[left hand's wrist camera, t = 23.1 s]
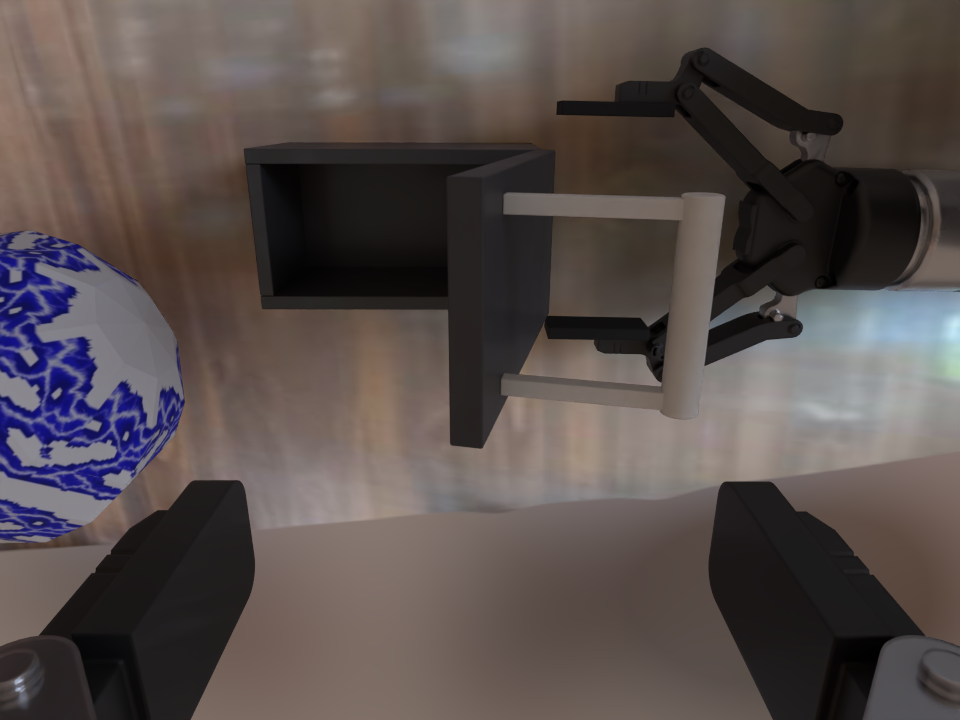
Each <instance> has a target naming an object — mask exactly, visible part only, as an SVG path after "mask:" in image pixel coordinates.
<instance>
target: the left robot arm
mask: <svg viewBox="0 0 960 720" xmlns="http://www.w3.org/2000/svg"><path fill="white" fill-rule="evenodd" d="M254 573H255V558H254V550H253V543H252V536H251V528H250V521H249V514H248V507H247V500H246V493H245V489H244V486H243V484H242V483H241V482H240V481H238V480H195V481H192V482H190V484H189V485H188V486H187V487H186V488H185V490H184V491H183V492H182V493H181V495H180V496H179V497H178V498H177V500H176V501H175V502H174V503H173V505H172V506H171V507H170V509H169V510H157V511H156V512H154V513H153V514H151V515H150V516H148V517H147V518H145V519H144V520H142V521H141V522H139V523H137V524H136V525H134V526H133V527H131V528H130V529H129V530H128V531H127V532H126V533H125V535H124V536H123V537H122V538H121V539H120V540H119V542H118V543H117V544H116V545H115V546H114V548H113V549H112V550H111V555H107V556H106V557H105V558H104V559H103V560H102V562H101V563H100V564H99V565H98V566H97V568H96V572H95V573H91V575H90V576H89V577H88V578H87V579H86V581H85V582H84V583H83V584H82V585H81V586H80V588H79V589H78V590H77V591H76V592H75V593H74V595H73V596H72V597H71V598H70V599H69V601H68V602H67V603H66V604H65V605H64V607H63V608H62V609H61V610H60V611H59V612H58V613H57V615H56V616H55V617H54V618H53V619H52V621H51V622H50V623H49V624H48V625H47V626H46V628H45V629H44V630H43V631H42V632H41V633H40V635H39V636H34V637H28V638H24V639H20V640H17V641H13V642H10V643H8V644H5V645H3V646H0V720H191V718H192V716H193V713H194V711H195V709H196V707H197V705H198V703H199V701H200V699H201V697H202V695H203V693H204V691H205V688H206V686H207V684H208V682H209V680H210V678H211V676H212V674H213V672H214V670H215V668H216V665H217V663H218V661H219V659H220V657H221V655H222V653H223V651H224V649H225V647H226V645H227V643H228V640H229V638H230V636H231V634H232V632H233V630H234V628H235V626H236V624H237V622H238V620H239V617H240V615H241V613H242V611H243V609H244V607H245V605H246V603H247V601H248V599H249V596H250V593H251V590H252V586H253V581H254ZM709 580H710V585H711V590H712V593H713V596H714V599H715V601H716V603H717V605H718V607H719V609H720V611H721V613H722V616H723V618H724V620H725V622H726V624H727V626H728V628H729V630H730V632H731V634H732V636H733V638H734V640H735V642H736V644H737V646H738V649H739V651H740V653H741V655H742V657H743V659H744V661H745V663H746V665H747V667H748V669H749V671H750V673H751V675H752V677H753V679H754V681H755V684H756V686H757V688H758V690H759V692H760V694H761V696H762V698H763V700H764V702H765V704H766V706H767V708H768V710H769V712H770V714H771V716H772V719H773V720H960V646H957V645H955V644H953V643H949V642H946V641H943V640H940V639H936V638H932V637H926V636H925V635H924V633H923V632H922V631H921V630H920V629H919V628H918V626H917V625H916V624H915V623H914V622H913V621H912V620H911V618H910V617H909V616H908V615H907V614H906V612H905V611H904V610H903V609H902V608H901V607H900V606H899V604H898V603H897V602H896V601H895V600H894V598H893V597H892V596H891V595H890V594H889V593H888V591H887V590H886V589H885V588H884V587H883V586H882V585H881V583H880V582H879V581H878V580H877V579H876V577H875V576H874V575H870V574H869V569H868V568H867V567H866V566H865V565H864V563H863V562H862V561H861V560H860V559H859V558H858V557H857V556H854V553H853V551H852V549H851V548H850V547H849V546H848V545H847V544H846V543H845V541H844V540H843V539H842V538H841V537H840V535H839V534H838V533H837V532H836V531H835V530H834V529H832V528H831V527H829V526H828V525H826V524H825V523H823V522H822V521H820V520H819V519H817V518H815V517H814V516H812V515H811V514H809V513H808V512H796V511H795V510H794V508H793V507H792V506H791V504H790V503H789V502H788V501H787V499H786V498H785V497H784V496H783V495H782V493H781V492H780V491H779V490H778V488H777V487H776V486H775V485H774V484H773V483H772V482H724V483H722V485H721V487H720V489H719V492H718V498H717V505H716V512H715V519H714V526H713V534H712V540H711V548H710V555H709Z"/></svg>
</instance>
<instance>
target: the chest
mask: <svg viewBox="0 0 960 720" xmlns="http://www.w3.org/2000/svg"><path fill="white" fill-rule="evenodd" d="M533 150H543V149H541V148H539V147H537V146H535V145H533V144H531V143H281V144H274V145H267V146H260V147H253V148H245V149H244V156H245V163H246V172H247V181H248V189H249V198H250V207H251V216H252V225H253V233H254V242H255V251H256V260H257V269H258V277H259V286H260V295H261V304H262V309H448V251H447V181H446V179H447V177H448V176H451V175H454V174H458V173H461V172H464V171H468V170H471V169H474V168H477V167H481V166H484V165H487V164H490V163H494V162H497V161H500V160H504V159H507V158H510V157H513V156H517V155H520V154H523V153H526V152H530V151H533Z"/></svg>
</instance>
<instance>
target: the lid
mask: <svg viewBox="0 0 960 720" xmlns="http://www.w3.org/2000/svg"><path fill="white" fill-rule="evenodd" d="M554 170H555V151H554V150H533V151H530V152H526V153H523V154H520V155H517V156H513V157H510V158H507V159H504V160H500V161H497V162H494V163H490V164H487V165H484V166H481V167H477V168H474V169H471V170H468V171H464V172H461V173H458V174H454V175H451V176H448V177H447V179H446V181H447V251H448V322H449V392H450V444H451V445H453V446H462V447H471V448H480V449H481V448H483V446H484V444H485V442H486V440H487V438H488V436H489V434H490V432H491V430H492V428H493V426H494V424H495V422H496V420H497V418H498V416H499V414H500V411H501V409H502V407H503V405H504V403H505V401H506V399H507V397H508V396H516V397H526V398H537V399H548V400H558V401H569V402H580V403H591V404H601V405H612V406H623V407H634V408H644V409H655V410H660V412H661V413H662V414H663V415H665V416H667V417H670V418H674V419H692V418H695V417H696V416H697V415H698V411H699V404H700V396H701V388H702V380H703V372H704V364H705V356H706V348H707V340H708V332H709V324H710V316H711V309H712V301H713V293H714V285H715V277H716V269H717V261H718V253H719V245H720V237H721V229H722V221H723V214H724V206H725V195H723V194H718V193H707V192H689V193H684V194H682V195H681V197H654V196H617V195H581V194H554ZM553 216H565V217H594V218H623V219H652V220H679V221H678V231H677V241H676V250H675V260H674V270H673V279H672V289H671V298H670V308H669V318H668V327H667V337H666V347H665V356H664V366H663V375H662V385H661V387H658V386H646V385H635V384H623V383H611V382H600V381H588V380H577V379H565V378H553V377H542V376H530V375H519V373H520V371H521V369H522V367H523V365H524V362H525V360H526V358H527V356H528V354H529V352H530V350H531V348H532V346H533V344H534V342H535V340H536V338H537V336H538V334H539V332H540V330H541V328H542V326H543V324H544V322H545V320H546V318H547V315H548V313H549V296H550V271H551V246H552V220H553Z"/></svg>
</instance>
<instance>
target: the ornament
mask: <svg viewBox="0 0 960 720" xmlns="http://www.w3.org/2000/svg"><path fill="white" fill-rule="evenodd" d="M184 403H185V401H184V392H183V384H182V375H181V367H180V359H179V350H178V342H177V340H176V338H175V336H174V333H173V331H172V329H171V328H170V326H169V325H168V323H167V322H166V320H165V319H164V317H163V316H162V314H161V313H160V311H159V310H158V308H157V307H156V305H155V304H154V302H153V301H152V299H151V297H150V296H149V295H148V293H147V292H146V291H145V290H144V289H143V287H142V286H141V285H140V284H139V282H138V281H137V280H135V279H133V278H132V277H130V276H128V275H127V274H125V273H123V272H122V271H120V270H119V269H117V268H115V267H114V266H112V265H110V264H109V263H107V262H106V261H104V260H102V259H101V258H99V257H97V256H96V255H94V254H93V253H91V252H89V251H88V250H86V249H84V248H83V247H81V246H80V245H78V244H74V243H71V242H68V241H65V240H61V239H58V238H55V237H51V236H48V235H45V234H42V233H38V232H35V231H32V230H31V231H21V232H12V233H2V234H0V543H26V542H47V541H50V540H52V539H54V538H56V537H59V536H61V535H63V534H66V533H68V532H70V531H72V530H75V529H77V528H79V527H81V526H84V525H86V524H88V523H91V522H92V521H93V520H94V519H95V518H96V517H97V516H98V515H99V514H100V513H101V512H102V511H103V510H104V509H105V508H106V507H107V506H108V505H109V504H110V503H111V502H112V501H113V500H114V499H115V498H116V497H117V496H118V495H119V494H120V493H121V492H122V491H123V490H124V489H125V488H126V487H127V486H128V485H129V483H130V482H131V481H132V480H133V479H134V478H135V477H136V476H137V475H138V474H139V473H140V472H141V471H142V470H143V469H144V468H145V467H146V466H147V465H148V463H149V462H150V461H151V460H152V459H153V458H154V457H155V456H156V455H157V454H158V453H159V452H160V451H161V450H162V449H163V448H164V447H165V446H166V445H167V444H168V442H169V441H170V440H171V439H172V438H173V437H174V436H175V433H176V429H177V426H178V423H179V419H180V416H181V413H182V410H183V406H184Z"/></svg>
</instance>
